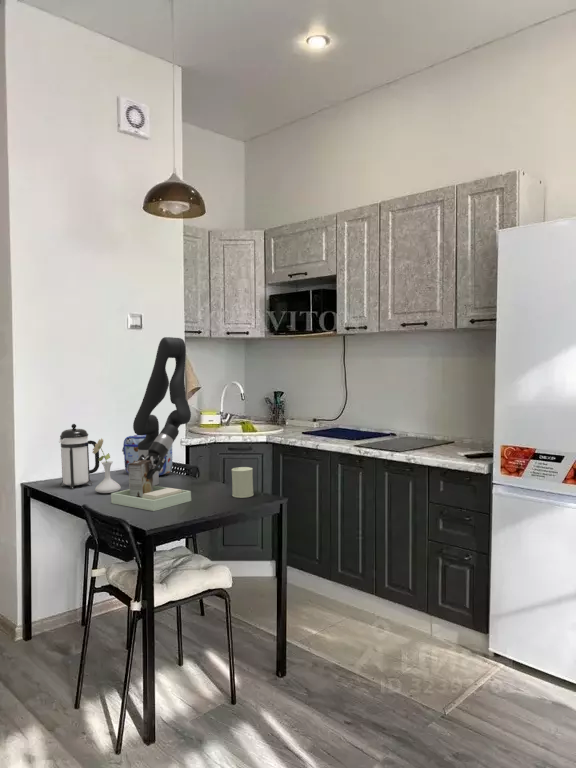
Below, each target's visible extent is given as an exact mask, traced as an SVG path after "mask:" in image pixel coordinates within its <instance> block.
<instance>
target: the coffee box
mask: <svg viewBox="0 0 576 768" xmlns="http://www.w3.org/2000/svg"><path fill="white" fill-rule="evenodd" d="M150 469H151V460H138V461H135V462H133V463H130V464H128V470H129V474H128V484H129V486H128V487H129V488H128V489H130V496H132V497H138V498H142V495H143V494H145V493H149V492H153V476H152V478H151V479H148V478H147V477H146V475H147V474H148V472H149V471H150Z"/></svg>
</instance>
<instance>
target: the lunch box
mask: <svg viewBox="0 0 576 768" xmlns="http://www.w3.org/2000/svg"><path fill="white" fill-rule="evenodd" d="M145 437H146V435H137V434H135V435H129V436H126V437H125V438H124V440H123V447H122V449H121V452H123V453H122V454H123V456H124V457H123V458H124V459H123V460H124V468H125V471H126V473H127V474H128V475H129V470H128V464H130V463H133V462H135V461H137V460H138V443H139V442H141V441H143V440H144V439H145ZM164 459H165V460H166V462H165V463H164V465H163V467H162V469H161V470H160V471H158V472H159V476H163V475H165V474H169V473H171V471H172V470H173V445H172V446H171V448H170V449H169V451H168V452H167V454H166V456H165V457H164ZM158 467H160V465H159V466H158Z"/></svg>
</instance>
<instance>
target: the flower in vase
mask: <svg viewBox="0 0 576 768" xmlns="http://www.w3.org/2000/svg"><path fill="white" fill-rule="evenodd" d="M96 443H97V444H95V447H94V446H93V448H92V454H93V455H95V454H96V453H97V452H98V451H99V452H100V450H101V452H102V454H103V455H101V456H99V460H98V461H99V462H101V464H102V466H103V468H104V478H103V480H102V481H101V482H100V483H98V484H97V485H96V487H95V489H94V491H95V492H97V493H100V494H111V493H115V492H119V491H121V489H122V486H121V485H120V484H119V483H118V482H117V481H115V480H114V479H113V478H112V477H111V466H112V465H113V461H111V460H109V459H110V458H111V455H110V453H106V455H105V453H104V451H103V449H102V446H103V445H104V438H102V437H101V438H100V439H98V441H97V442H96ZM103 460H105V461H103Z"/></svg>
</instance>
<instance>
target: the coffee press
mask: <svg viewBox="0 0 576 768" xmlns="http://www.w3.org/2000/svg"><path fill="white" fill-rule="evenodd" d="M88 437H89V433H88V432H87V430H85V429H83V428H77V424H75V423H72V424H71V428H69V429H65V430H63V431H62V432H61V434H60V436H59V440H58V443H60V451H61V454H60V456H61V473H62V474H61V477H62V478H61V479H62V480H61V483H60V485H61V486H62V484H63V485H64V486H65V485H66V486H70V489H71V488H72V487H74V488H76V487H75V486H80V485H85V484H86V485H88V484H90V485H91V486H92V485H93V482H92V481H91V480H90V479H91V478H90V475H91V474H94V473H96V472H97V471H98V469H99V467H100V461H98V460H99V458H100V450H99V451H98V452H97V453H96V454H94V467H93V468H92V469H90V457H89V456H90V455H89V454H90V452H89V445H92V446H93V448H94V447H95V444H97V443H98V442H96V441H95V440H88V439H89V438H88ZM88 482H89V483H88ZM60 485H59V486H60Z"/></svg>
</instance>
